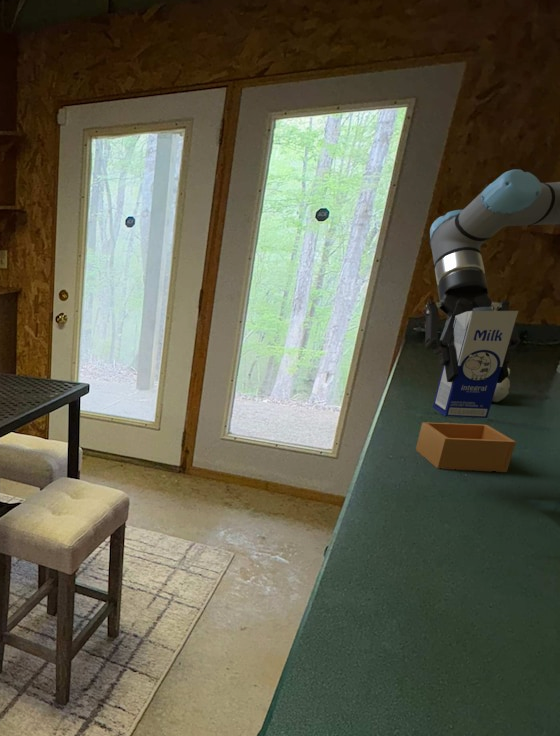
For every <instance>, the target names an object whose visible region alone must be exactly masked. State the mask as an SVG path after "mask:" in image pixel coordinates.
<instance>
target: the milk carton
mask: <svg viewBox="0 0 560 736" xmlns="http://www.w3.org/2000/svg"><path fill="white" fill-rule="evenodd" d="M518 314H519V310H509V311H492V307H478V308H473V311H467V312H464V313H462V314H459V315H457V316H455V321H454V325H453V328H454V332H453V335H452V337H451V340H450V343H449V344H448V347H449V345H454V346H455V352H456V358H457V365H458V371H459V375H458V376H457V377H456V378H455V379H454V380H453V381H452V382H447V377H446V370H445V365H442V369H441V372H440V377H439V380H438V384H437V388H436V392H435V397H434V400H433V403H432V409H434V410H436V412H439V413H440V414H441V415H443V416H444V417H451V418H453V417H455V418H476V419H477V418H480V419H488V416H489V413H490V409H491V406H492V402H493V401H492V399H493V396H494V393H495V389H496V386H497V382H498V379H499V375H500V372H501V368H502V365H503V361H504V358H505V355H506V351H507V348H508V344H509V341H510V337H511V334H512V330H513V327H514V325H515V323H516V320H517V317H518Z"/></svg>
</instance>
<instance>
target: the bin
mask: <svg viewBox="0 0 560 736" xmlns="http://www.w3.org/2000/svg"><path fill="white" fill-rule="evenodd" d="M516 443H517V441H515V440H514V439H512V438H510V437H508V436H507V435H505V434H504V433H502V432H500V431H498V430H497V429H495V428H493V427H492V426H490V425H488V424H480V423H477V424H476V423H453V422H429V421H428V422H425V421H422V422H421V426H420V431H419V434H418V438H417V444H416V447H415V451H416V452H417V453H418V454H419V455H420V456H422V457H423V458H424V457H425V458H424V459H426V460H427V461H428V462H429V463H430V464H431V465H432V466H434V467H435V468H436V469H438V468H439V470H441V469H442V470H455V469H456V470H455V471H473V470H474V472H475V471H476V472H492V471H496V472H495V473H507V472H508V470H509V467H510V463H511V461H512V460H511V459H512V456H513V453H514V450H515V447H516ZM440 468H441V469H440Z"/></svg>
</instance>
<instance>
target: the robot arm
mask: <svg viewBox="0 0 560 736" xmlns="http://www.w3.org/2000/svg"><path fill="white" fill-rule="evenodd" d="M540 225H541V226H544V225H547V226H548V225H554V226H559V225H560V181H554V182H541V181H540V180H539V178H538V177H537V176H536V175H534V174H532V173H531V172H529V171H523V170H522V169H511V170H508V171H505V172H503V173H502V174H501V175H500V176H499V177H497V178H496V179H495V180H494V181H492V182H491V183H489V184H488V185H487V186H486V187H485V188H484V189H483V190H482V191H481V192H479V194H478V195H477V196H476V197H474V199H473V200H472V201H470V203H468V205H466V207H464V208H463V209H456V210H450V211H448V212H446V214H444V215H440V216H439V217H437V218H436V219H435V220H434V221H433V223H432V224H431V226H430V228H429V245H430V249H431V253H432V259H433V265H434V266H433V267H434V273H435V279H436V284H437V293H438V300H439V301H438V302H435V301H434V300H429V301H428V302H427V303H426V305H425V306H424V308H423V309H422V312H423V315H424V317H425V331H424V332H425V334H424V336H425V337H424V348H425V349H426V350H432V349H433V350H434V352H433V353H434V354H435V355H437V357H438V363H439V364H440V366H443V365H445V370H446V377H447V382H452V381H453V380H454V379H455V378H456V377H457V376H458V375H459V371H458V365H457V358H456V352H455V346H454V345H449V343H450V340H451V337H452V335H453V332H454V328H453V325H454V321H455V316H457V315H459V314H462V313H464V312H467V311H473V308H478V307H492V311H510V307H511V306H510V305H511V303H510V300H508V299H507V300H505V299H504V300H502V301H501V302H497V301H493V300H492V299H491V297H490V296H489V294H488V293H489V287H488V282H487V276H486V271H485V266H484V261H483V255H482V251H481V246H482V245H483V244H484V243H485V242H487V241H488V240H490V239H491V238H493V236H495V234H497V233H498V232H499V231H500V230H501V229H503V228H505V227H519V226H520V227H523V226H540ZM440 312H442V313H443V314H444V315H446V316H447V318H446V321H445V324H444V327H443V330H442V333H441V335H440V338H439V317H440ZM520 343H521V338H520V336H519V333H518V331H517V328H516V325H515V324H514V327H513V330H512V334H511V337H510V341H509V344H508V348H507V351H506V355H505V358H504V361H503V365H502V368H501V372H500V375H499V379H498V382H497V383H501V382H502V381H503V380H504V379H505V378H508V377H509V376H510V374H509V373H508V368H509V367H508V365H509V363H510V362H511V360H512V359H511V358H512V357H511V353H510V351H513V350H514V349H515V348H516V347H517V346H518V344H520ZM448 345H449V347H448Z"/></svg>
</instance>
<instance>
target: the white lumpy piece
mask: <svg viewBox="0 0 560 736" xmlns="http://www.w3.org/2000/svg"><path fill="white" fill-rule="evenodd" d="M507 368H508V373H509V375H510V374H511V369H510V368H509V367H507ZM510 381H511V380H510V379H509V378H508V377H507V378H505V379H504V380H503V381H502V382H501V383H497V386H496V389H495V393H494V396H493V399H492V402H493V403H499V402H500V401H502V400H504V399H505V398H506V397H507V396H508V395H509V394H510V393H509V389H510V387H511V384H510V383H511V382H510Z"/></svg>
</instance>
